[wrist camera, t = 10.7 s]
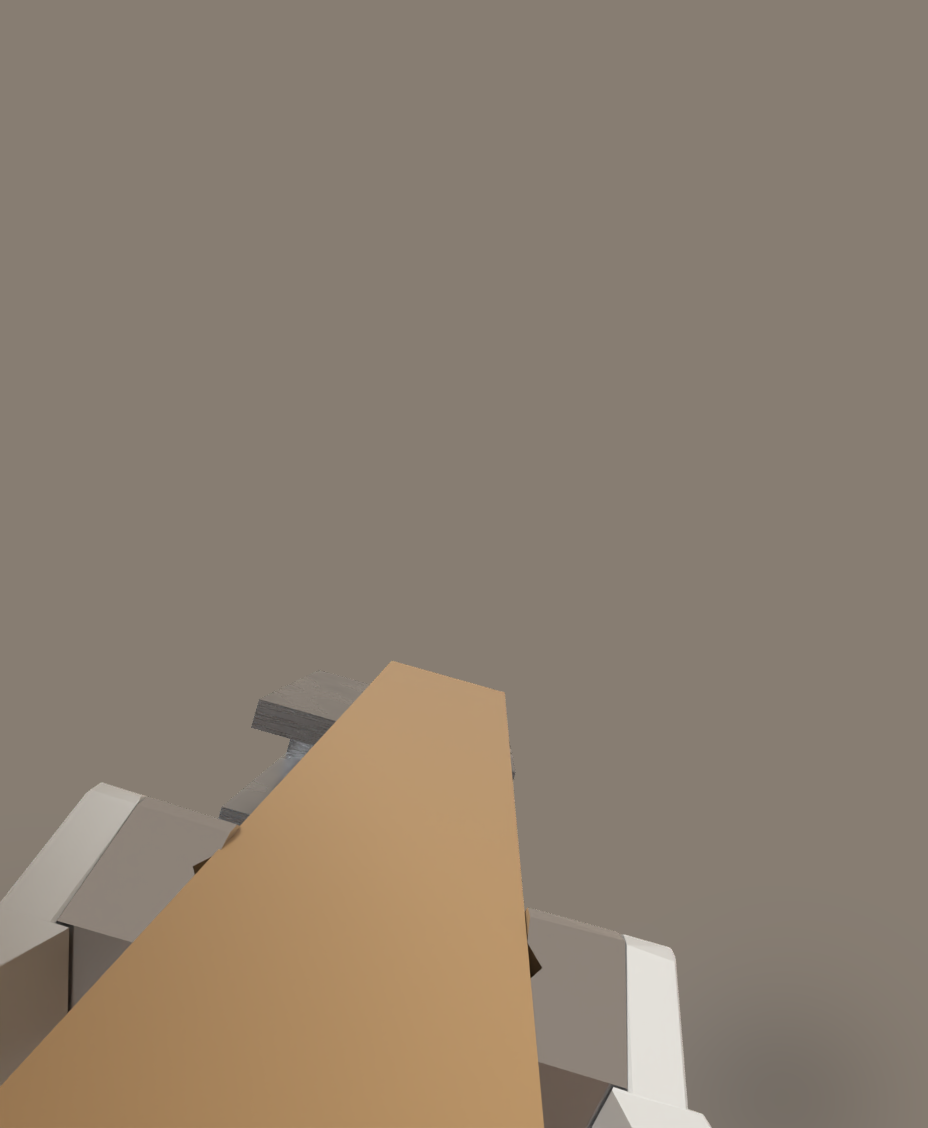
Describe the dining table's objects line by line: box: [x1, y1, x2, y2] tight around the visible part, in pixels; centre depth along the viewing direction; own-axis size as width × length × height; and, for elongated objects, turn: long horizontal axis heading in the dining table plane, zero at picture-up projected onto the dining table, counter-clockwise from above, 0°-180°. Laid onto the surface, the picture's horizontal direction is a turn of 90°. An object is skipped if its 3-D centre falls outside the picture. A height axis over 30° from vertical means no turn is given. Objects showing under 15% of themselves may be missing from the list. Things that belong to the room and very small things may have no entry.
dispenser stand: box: [219, 670, 515, 826], centre depth 34 cm, size 14×12×30 cm
